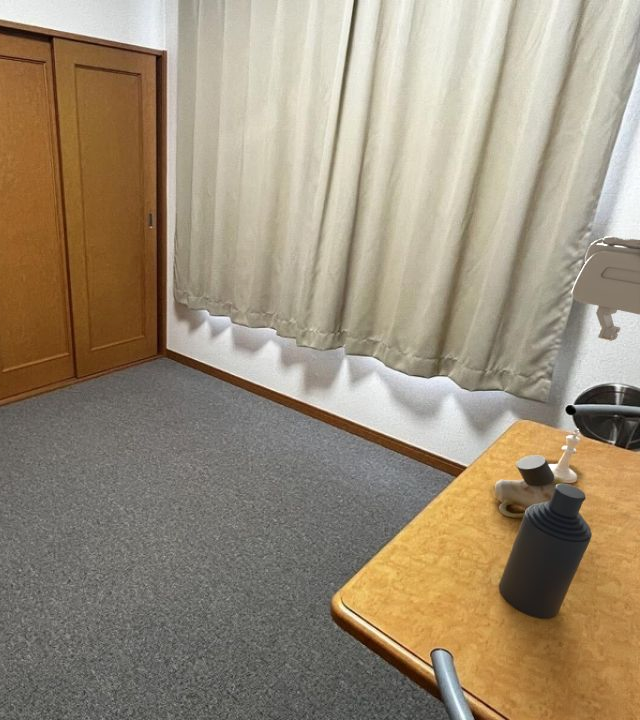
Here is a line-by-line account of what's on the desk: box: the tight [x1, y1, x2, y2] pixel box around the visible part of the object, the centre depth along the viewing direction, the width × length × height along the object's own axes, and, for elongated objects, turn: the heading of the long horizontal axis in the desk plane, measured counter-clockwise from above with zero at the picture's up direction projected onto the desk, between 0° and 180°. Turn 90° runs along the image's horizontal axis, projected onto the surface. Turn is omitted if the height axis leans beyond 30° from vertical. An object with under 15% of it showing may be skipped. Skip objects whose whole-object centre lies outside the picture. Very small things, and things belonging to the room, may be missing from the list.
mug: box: [494, 475, 564, 519], centre depth 79 cm, size 8×10×10 cm
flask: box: [498, 483, 593, 620], centre depth 61 cm, size 7×7×18 cm
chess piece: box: [548, 427, 581, 484], centre depth 87 cm, size 5×5×10 cm
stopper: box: [515, 454, 554, 486], centre depth 78 cm, size 4×4×3 cm
